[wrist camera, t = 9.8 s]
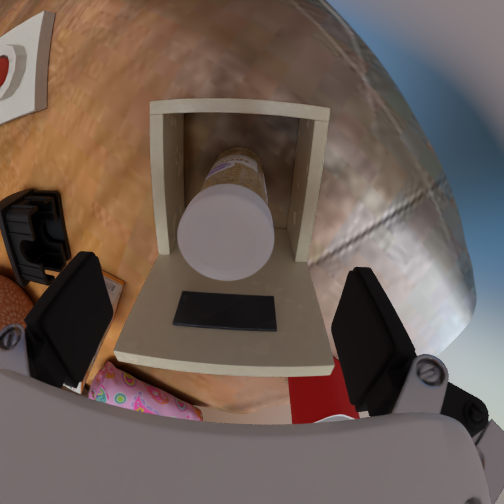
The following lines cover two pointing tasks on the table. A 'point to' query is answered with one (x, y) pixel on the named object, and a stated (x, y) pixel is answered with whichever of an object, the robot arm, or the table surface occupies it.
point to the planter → (13, 303)
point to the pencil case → (138, 395)
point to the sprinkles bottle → (229, 219)
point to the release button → (3, 69)
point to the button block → (26, 67)
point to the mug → (320, 398)
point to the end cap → (34, 235)
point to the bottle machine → (238, 291)
